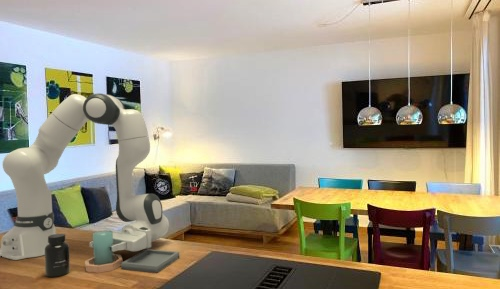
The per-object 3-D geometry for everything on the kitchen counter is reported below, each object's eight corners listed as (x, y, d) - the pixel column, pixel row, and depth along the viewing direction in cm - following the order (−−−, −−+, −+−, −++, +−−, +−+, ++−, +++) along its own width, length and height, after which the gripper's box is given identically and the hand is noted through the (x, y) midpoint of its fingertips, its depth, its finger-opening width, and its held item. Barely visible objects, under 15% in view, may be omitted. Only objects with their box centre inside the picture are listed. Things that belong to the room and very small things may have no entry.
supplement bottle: (59, 278, 112) (57, 239, 112) (40, 277, 114) (38, 238, 113) (74, 269, 119) (73, 232, 118) (56, 268, 120) (54, 232, 120)
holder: (78, 270, 118) (77, 264, 118) (101, 258, 129) (101, 253, 129) (106, 273, 115) (106, 267, 115) (128, 261, 125) (128, 255, 125)
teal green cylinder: (90, 268, 120) (88, 234, 119) (102, 261, 125) (101, 229, 125) (105, 270, 118) (104, 235, 117) (117, 263, 124) (116, 230, 123)
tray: (121, 269, 118) (121, 262, 118) (146, 254, 132) (146, 249, 132) (157, 273, 114) (156, 266, 114) (179, 257, 128) (179, 251, 128)
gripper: (112, 224, 138) (79, 233, 125) (153, 230, 128) (122, 241, 116) (112, 240, 138) (80, 252, 126) (154, 248, 128) (123, 261, 116)
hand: (100, 247), depth 121 cm, fingers open, 8 cm apart
